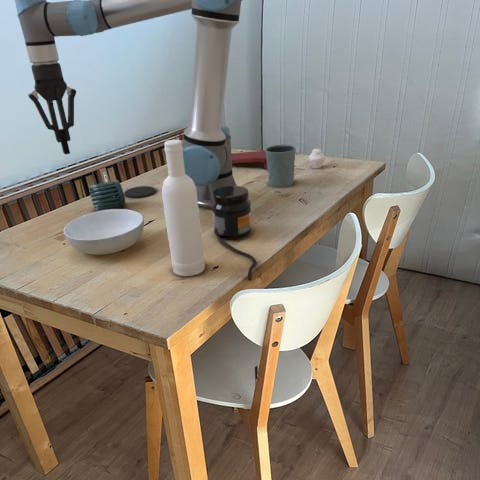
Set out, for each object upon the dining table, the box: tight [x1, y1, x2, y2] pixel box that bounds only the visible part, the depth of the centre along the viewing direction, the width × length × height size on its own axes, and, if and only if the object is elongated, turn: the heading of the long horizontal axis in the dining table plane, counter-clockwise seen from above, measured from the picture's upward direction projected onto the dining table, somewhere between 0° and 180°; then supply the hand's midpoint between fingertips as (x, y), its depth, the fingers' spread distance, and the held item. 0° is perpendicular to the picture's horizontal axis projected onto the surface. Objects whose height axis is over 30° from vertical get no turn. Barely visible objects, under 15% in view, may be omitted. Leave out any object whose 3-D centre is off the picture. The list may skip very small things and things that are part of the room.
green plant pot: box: [264, 144, 297, 188], centre depth 166 cm, size 10×10×12 cm
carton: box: [231, 149, 268, 170], centre depth 192 cm, size 12×5×25 cm
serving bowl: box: [62, 208, 145, 256], centre depth 130 cm, size 21×21×7 cm
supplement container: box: [211, 185, 253, 241], centre depth 132 cm, size 10×10×12 cm
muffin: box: [308, 148, 326, 170], centre depth 181 cm, size 6×6×7 cm
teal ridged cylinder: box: [88, 179, 126, 212], centre depth 155 cm, size 9×8×8 cm
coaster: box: [123, 185, 157, 199], centre depth 169 cm, size 11×11×1 cm
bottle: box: [161, 139, 206, 277], centre depth 110 cm, size 8×8×30 cm
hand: (66, 153), depth 143 cm, fingers closed
